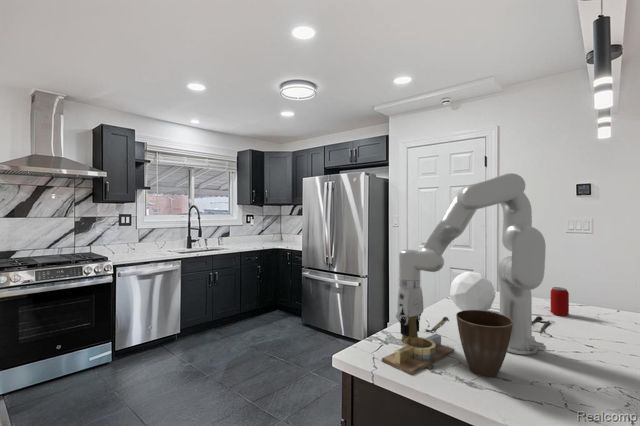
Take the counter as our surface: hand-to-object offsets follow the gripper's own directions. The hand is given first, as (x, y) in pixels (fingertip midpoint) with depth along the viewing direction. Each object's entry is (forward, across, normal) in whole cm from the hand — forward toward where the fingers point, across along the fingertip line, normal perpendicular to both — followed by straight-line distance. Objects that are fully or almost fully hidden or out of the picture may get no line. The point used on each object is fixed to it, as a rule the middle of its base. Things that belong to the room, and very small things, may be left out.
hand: (410, 332), depth 120 cm
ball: (+3, +51, +2) cm, 51 cm away
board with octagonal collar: (+3, -9, -10) cm, 14 cm away
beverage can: (+3, +79, -25) cm, 83 cm away
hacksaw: (+4, +54, -26) cm, 60 cm away
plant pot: (+3, -3, -28) cm, 28 cm away
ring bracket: (+3, -9, -10) cm, 14 cm away
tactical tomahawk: (+4, +23, +1) cm, 24 cm away
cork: (+3, 0, 0) cm, 3 cm away
